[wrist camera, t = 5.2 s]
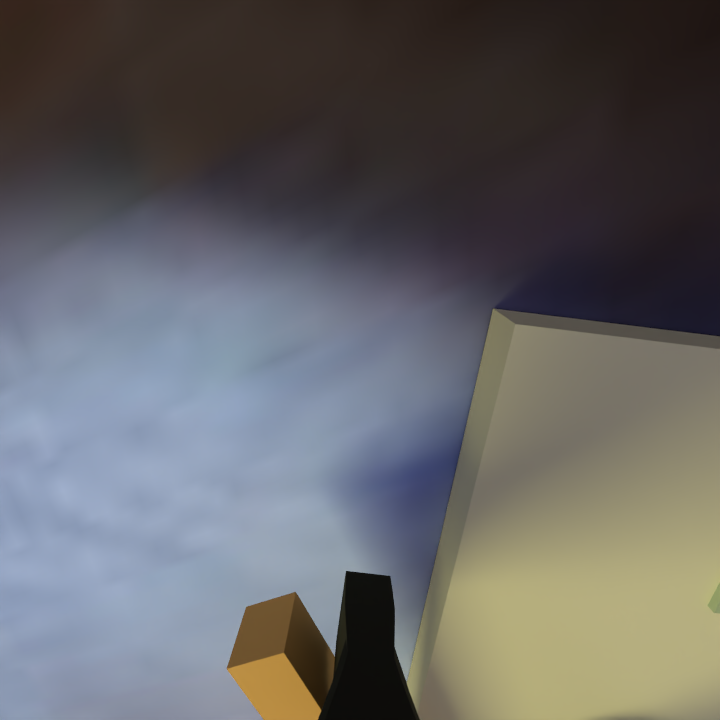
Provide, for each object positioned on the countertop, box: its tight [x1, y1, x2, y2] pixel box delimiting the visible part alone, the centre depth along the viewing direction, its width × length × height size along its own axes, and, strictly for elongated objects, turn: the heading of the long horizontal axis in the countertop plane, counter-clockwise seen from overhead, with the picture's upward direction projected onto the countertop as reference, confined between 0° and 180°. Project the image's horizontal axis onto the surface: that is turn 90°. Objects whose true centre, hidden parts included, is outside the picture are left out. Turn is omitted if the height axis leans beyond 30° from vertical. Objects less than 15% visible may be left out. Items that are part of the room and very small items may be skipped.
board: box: [407, 309, 720, 720], centre depth 12 cm, size 14×22×2 cm, turn 173°
